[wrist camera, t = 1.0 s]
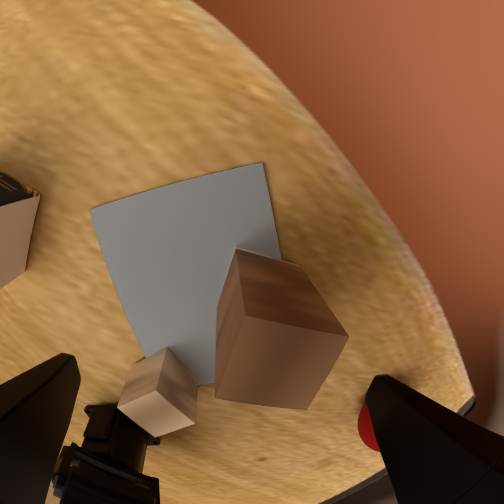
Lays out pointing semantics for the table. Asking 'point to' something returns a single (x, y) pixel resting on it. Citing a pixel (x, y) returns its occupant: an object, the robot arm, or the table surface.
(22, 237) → the medicine bottle
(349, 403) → the table surface
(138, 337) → the mat
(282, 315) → the walnut block
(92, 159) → the table surface
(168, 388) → the maple block
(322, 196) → the table surface
